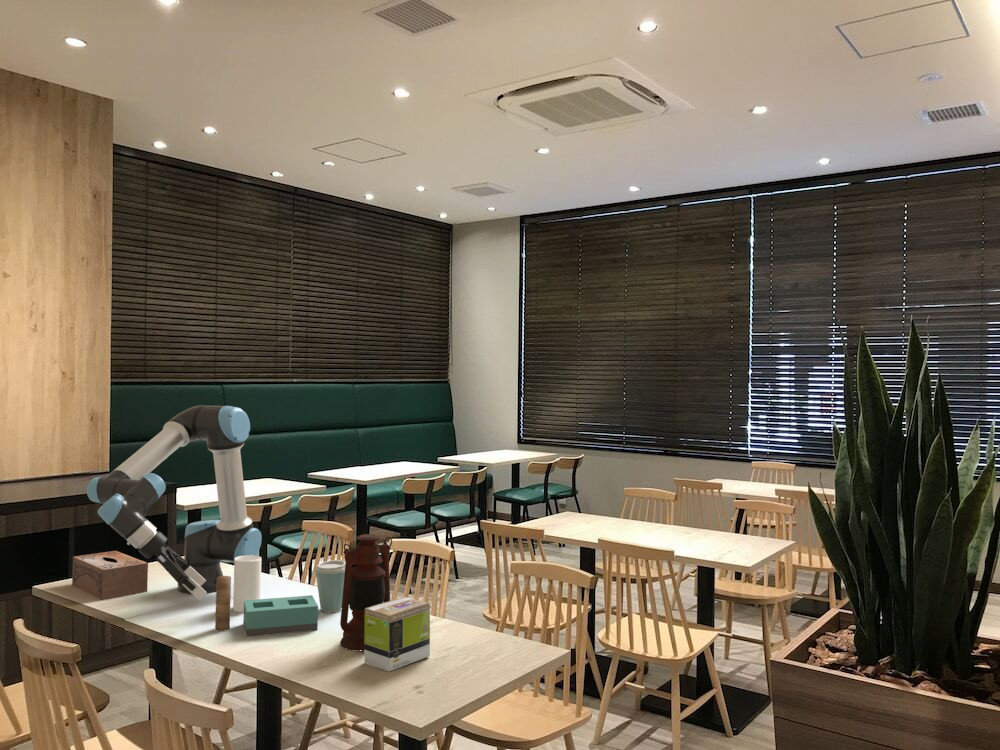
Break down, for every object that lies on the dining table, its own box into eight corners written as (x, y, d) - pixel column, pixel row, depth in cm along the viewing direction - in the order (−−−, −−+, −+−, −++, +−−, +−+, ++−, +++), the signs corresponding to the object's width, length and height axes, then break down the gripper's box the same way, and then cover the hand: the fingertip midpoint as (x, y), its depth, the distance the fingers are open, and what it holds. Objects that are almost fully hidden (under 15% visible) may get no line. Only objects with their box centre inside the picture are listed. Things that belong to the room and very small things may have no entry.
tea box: (404, 648, 216) (405, 595, 216) (430, 657, 210) (431, 602, 210) (362, 663, 205) (363, 606, 205) (388, 673, 198) (390, 614, 198)
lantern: (355, 656, 209) (358, 544, 209) (325, 643, 219) (328, 536, 219) (405, 641, 222) (408, 535, 222) (374, 630, 231) (377, 528, 232)
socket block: (243, 623, 234) (243, 600, 234) (311, 618, 241) (312, 595, 241) (246, 636, 223) (246, 611, 223) (317, 630, 230) (318, 606, 230)
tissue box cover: (72, 585, 272) (72, 556, 272) (114, 578, 282) (115, 550, 282) (102, 600, 254) (103, 570, 255) (147, 592, 265) (148, 563, 265)
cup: (264, 605, 253) (265, 555, 253) (253, 612, 245) (255, 561, 245) (239, 604, 254) (241, 554, 254) (228, 611, 246) (229, 560, 246)
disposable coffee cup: (328, 616, 243) (330, 568, 243) (306, 610, 249) (307, 562, 249) (354, 609, 251) (355, 562, 251) (332, 603, 258) (333, 557, 258)
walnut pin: (214, 627, 230) (216, 576, 230) (229, 626, 231) (230, 575, 232) (215, 631, 226) (216, 579, 226) (230, 630, 228) (231, 578, 228)
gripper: (140, 541, 231) (192, 588, 237) (133, 559, 208) (192, 612, 213) (160, 522, 233) (212, 570, 238) (156, 538, 210) (213, 591, 215)
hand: (202, 590), depth 226 cm, fingers open, 13 cm apart
